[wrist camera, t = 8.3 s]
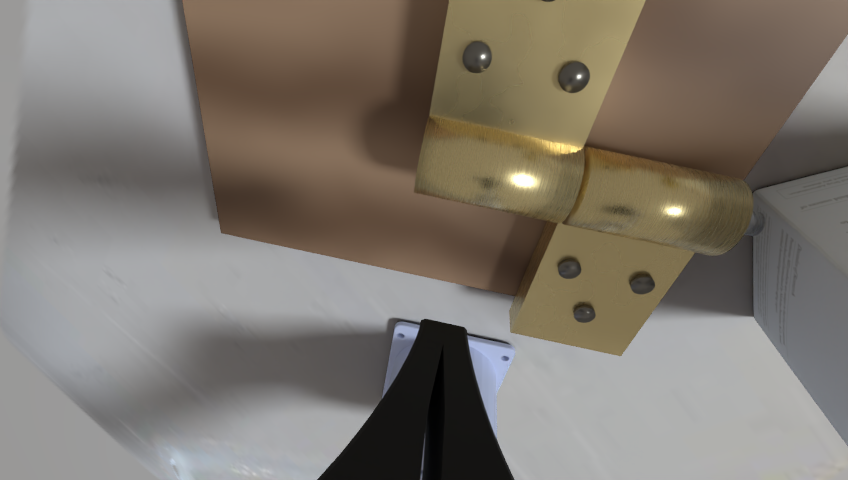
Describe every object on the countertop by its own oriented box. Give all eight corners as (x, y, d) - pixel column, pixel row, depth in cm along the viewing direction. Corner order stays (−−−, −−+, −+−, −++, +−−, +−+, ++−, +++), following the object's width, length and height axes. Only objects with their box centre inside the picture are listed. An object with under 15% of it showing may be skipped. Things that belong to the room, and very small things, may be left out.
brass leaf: (549, 198, 19) (558, 238, 16) (421, 171, 19) (410, 207, 16) (668, -97, 12) (714, -109, 10) (476, -136, 12) (471, -158, 10)
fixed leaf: (638, 338, 23) (656, 387, 20) (509, 310, 23) (511, 356, 20) (759, 171, 17) (808, 212, 14) (582, 134, 17) (599, 167, 14)
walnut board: (635, 307, 23) (641, 323, 23) (232, 221, 24) (221, 232, 23) (876, -48, 13) (906, -48, 12) (173, -189, 14) (148, -200, 13)
